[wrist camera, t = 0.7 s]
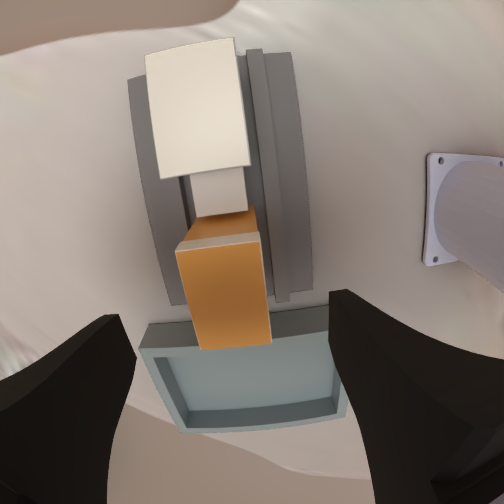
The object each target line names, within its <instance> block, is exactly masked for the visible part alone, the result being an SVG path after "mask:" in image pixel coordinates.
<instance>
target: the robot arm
mask: <svg viewBox="0 0 504 504" xmlns="http://www.w3.org/2000/svg"><path fill="white" fill-rule="evenodd" d="M439 157H440V160H441V161H440V163H439V162H438V159H439ZM435 256H436V257H435ZM434 257H435V259H434V260H433V258H434ZM455 261H461V262H463V263H464V264H466V265H467V266H468V267H470V268H471V269H472V270H474V271H475V272H477V273H478V274H479V275H481V276H482V277H483V278H485V279H486V280H487V281H489V282H490V283H491V284H492V285H494V286H495V287H496V288H498V289H499V290H500V291H501V292H503V293H504V158H501V157H492V156H481V155H468V154H452V153H430V154H429V155H428V157H427V213H426V230H425V242H424V252H423V263H424V264H425V265H426V266H428V267H430V266H435V265H440V264H445V263H450V262H455ZM328 342H329V346H330V350H331V354H332V357H333V361H334V364H335V367H336V369H337V372H338V374H339V377H340V379H341V382H342V384H343V386H344V389H345V391H346V394H347V396H348V398H349V401H350V403H351V406H352V408H353V410H354V413H355V415H356V418H357V421H358V424H359V427H360V431H361V434H362V438H363V442H364V446H365V450H366V455H367V459H368V464H369V468H370V473H371V479H372V484H373V489H374V496H375V503H376V504H504V360H503V359H498V358H493V357H488V356H484V355H480V354H476V353H473V352H469V351H466V350H463V349H460V348H457V347H454V346H451V345H448V344H446V343H443V342H441V341H438V340H436V339H434V338H431V337H429V336H427V335H425V334H422V333H420V332H418V331H416V330H414V329H412V328H411V327H409V326H407V325H405V324H403V323H401V322H399V321H398V320H396V319H394V318H393V317H391V316H389V315H388V314H386V313H384V312H383V311H381V310H379V309H378V308H376V307H375V306H373V305H372V304H370V303H369V302H367V301H365V300H364V299H362V298H361V297H359V296H358V295H356V294H355V293H353V292H351V291H350V290H348V289H343V290H337V291H330V292H329V324H328ZM136 360H137V357H136V355H135V353H134V350H133V348H132V346H131V343H130V341H129V339H128V336H127V334H126V332H125V329H124V327H123V324H122V322H121V319H120V317H119V314H110V315H103V316H101V317H99V318H98V319H96V320H95V321H93V322H92V323H90V324H89V325H87V326H86V327H84V328H83V329H81V330H80V331H79V332H77V333H76V334H75V335H73V336H72V337H70V338H69V339H68V340H66V341H65V342H64V343H62V344H61V345H60V346H58V347H57V348H55V349H54V350H52V351H51V352H49V353H48V354H47V355H45V356H44V357H42V358H41V359H39V360H38V361H36V362H35V363H33V364H31V365H30V366H28V367H26V368H24V369H23V370H21V371H19V372H17V373H15V374H13V375H11V376H9V377H7V378H5V379H3V380H1V381H0V504H107V479H108V469H109V460H110V454H111V448H112V443H113V438H114V434H115V430H116V427H117V424H118V421H119V418H120V415H121V412H122V409H123V406H124V404H125V401H126V398H127V395H128V392H129V389H130V386H131V383H132V380H133V375H134V371H135V365H136Z"/></svg>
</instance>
